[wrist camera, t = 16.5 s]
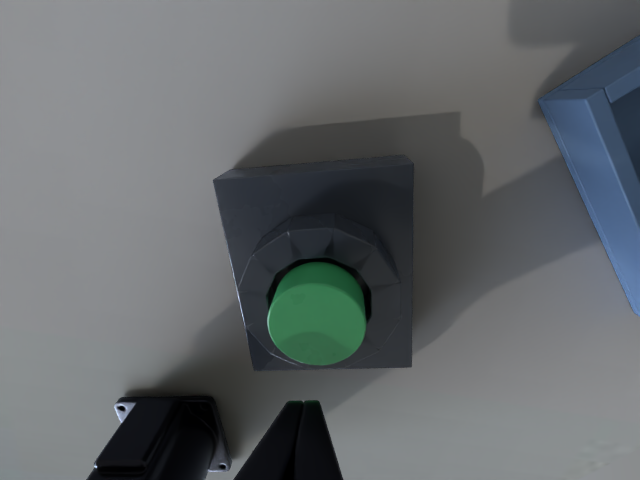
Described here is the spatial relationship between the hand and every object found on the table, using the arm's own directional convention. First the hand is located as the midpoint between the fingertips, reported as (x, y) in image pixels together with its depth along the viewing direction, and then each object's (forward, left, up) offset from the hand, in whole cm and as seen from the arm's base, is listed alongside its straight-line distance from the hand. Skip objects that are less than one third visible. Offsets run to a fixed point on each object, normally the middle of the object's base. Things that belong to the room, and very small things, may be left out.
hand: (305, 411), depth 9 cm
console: (0, 0, -9) cm, 9 cm away
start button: (0, 0, -5) cm, 5 cm away
